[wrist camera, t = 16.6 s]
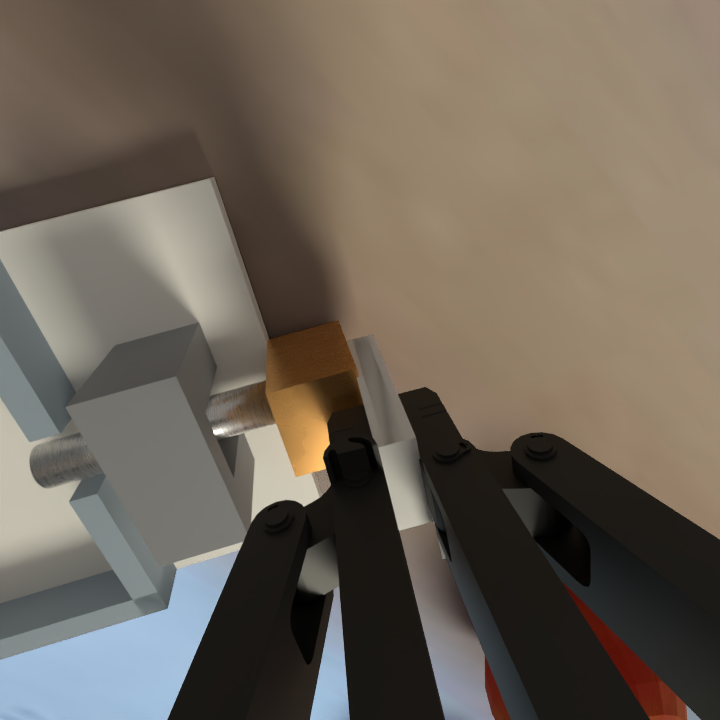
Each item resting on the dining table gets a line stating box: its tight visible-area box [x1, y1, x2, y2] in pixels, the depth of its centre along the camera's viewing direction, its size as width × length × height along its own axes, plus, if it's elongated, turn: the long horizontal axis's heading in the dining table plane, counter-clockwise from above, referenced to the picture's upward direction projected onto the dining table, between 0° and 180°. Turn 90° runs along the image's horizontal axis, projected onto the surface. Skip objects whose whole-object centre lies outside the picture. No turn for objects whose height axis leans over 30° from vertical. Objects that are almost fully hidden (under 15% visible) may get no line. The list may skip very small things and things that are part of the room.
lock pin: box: [29, 321, 363, 489], centre depth 16 cm, size 11×3×4 cm, turn 102°
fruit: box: [485, 583, 687, 720], centre depth 24 cm, size 10×10×10 cm
